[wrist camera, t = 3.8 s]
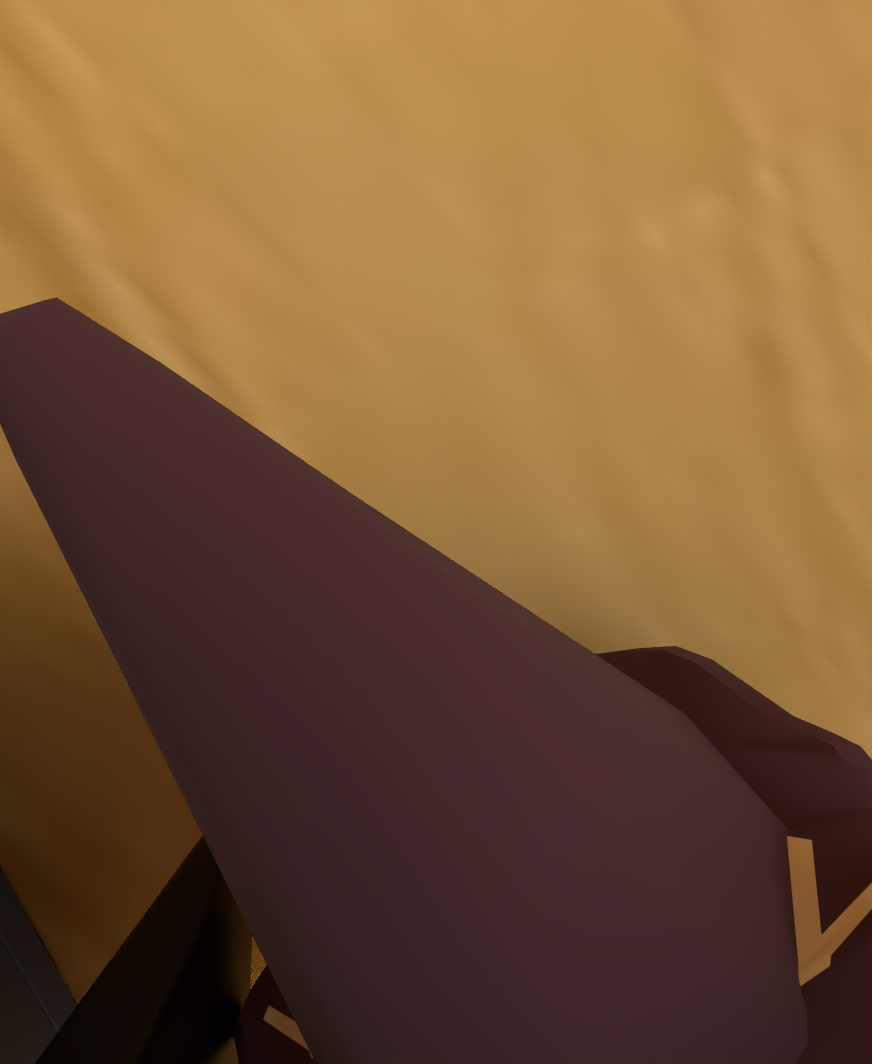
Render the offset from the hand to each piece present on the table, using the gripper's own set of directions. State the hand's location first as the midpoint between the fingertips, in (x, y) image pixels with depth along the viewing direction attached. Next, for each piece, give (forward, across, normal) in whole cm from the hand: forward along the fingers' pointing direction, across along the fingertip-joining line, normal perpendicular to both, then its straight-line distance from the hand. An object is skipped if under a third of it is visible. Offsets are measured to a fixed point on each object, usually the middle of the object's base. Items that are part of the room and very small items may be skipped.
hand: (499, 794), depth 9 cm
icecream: (+2, 0, 0) cm, 2 cm away
